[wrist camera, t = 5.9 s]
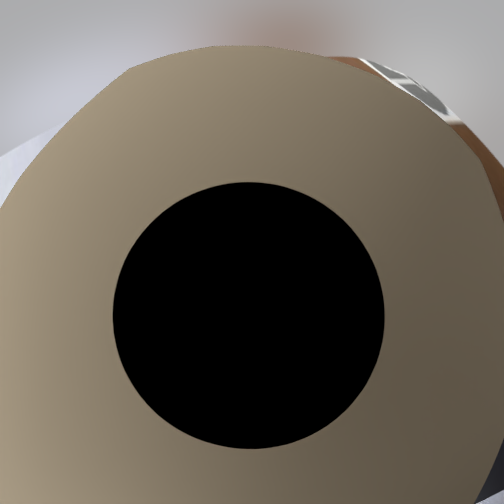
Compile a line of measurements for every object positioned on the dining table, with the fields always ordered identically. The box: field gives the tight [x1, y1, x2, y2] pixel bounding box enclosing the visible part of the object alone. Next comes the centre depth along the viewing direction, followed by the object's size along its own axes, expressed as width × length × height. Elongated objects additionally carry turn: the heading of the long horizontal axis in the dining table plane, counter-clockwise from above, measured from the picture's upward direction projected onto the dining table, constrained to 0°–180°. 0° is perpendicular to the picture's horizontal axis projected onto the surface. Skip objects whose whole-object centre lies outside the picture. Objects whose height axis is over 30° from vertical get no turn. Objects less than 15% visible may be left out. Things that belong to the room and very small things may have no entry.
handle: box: [0, 46, 504, 504], centre depth 9 cm, size 5×6×15 cm
